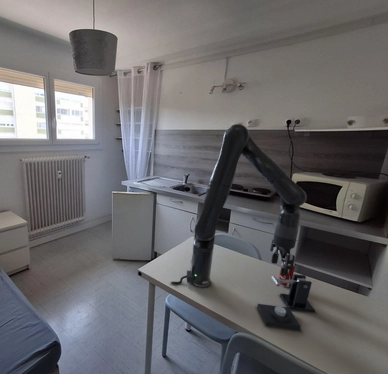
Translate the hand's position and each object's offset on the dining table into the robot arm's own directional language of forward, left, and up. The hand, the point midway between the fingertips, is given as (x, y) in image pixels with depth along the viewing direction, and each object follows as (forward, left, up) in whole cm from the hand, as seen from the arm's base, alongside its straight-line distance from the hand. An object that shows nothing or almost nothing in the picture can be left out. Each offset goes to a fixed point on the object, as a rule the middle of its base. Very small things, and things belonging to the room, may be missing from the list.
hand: (278, 269), depth 93 cm
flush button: (-2, -11, -12) cm, 17 cm away
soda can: (+11, +13, -16) cm, 23 cm away
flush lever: (+5, 0, -7) cm, 8 cm away
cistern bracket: (+10, 0, -16) cm, 19 cm away
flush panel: (-2, -10, -16) cm, 19 cm away
